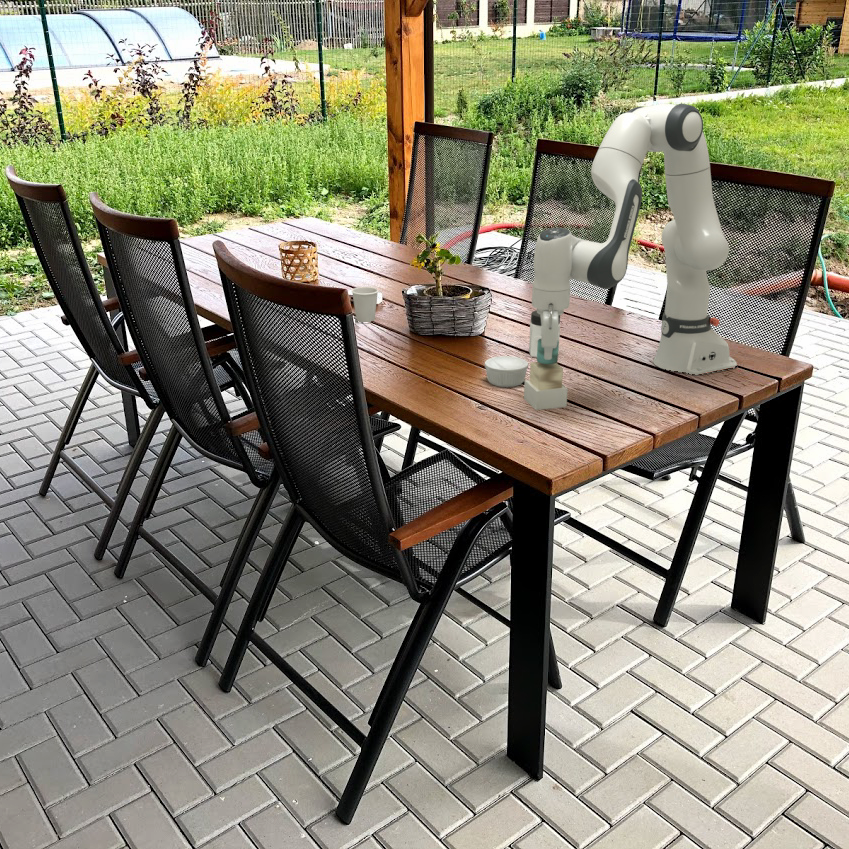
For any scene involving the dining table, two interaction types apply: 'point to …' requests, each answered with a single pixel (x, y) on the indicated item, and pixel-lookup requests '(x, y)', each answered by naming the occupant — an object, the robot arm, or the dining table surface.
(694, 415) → the dining table surface
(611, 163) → the robot arm
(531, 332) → the jar
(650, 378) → the dining table surface
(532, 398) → the grey base block
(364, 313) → the dixie cup
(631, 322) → the dining table surface
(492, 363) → the ramekin
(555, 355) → the teal cylinder
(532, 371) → the birch top block
